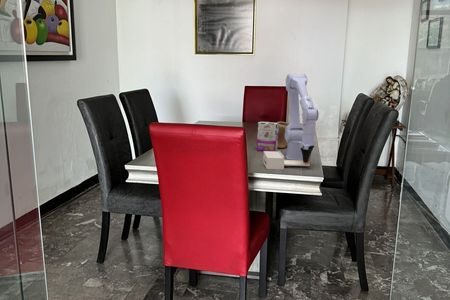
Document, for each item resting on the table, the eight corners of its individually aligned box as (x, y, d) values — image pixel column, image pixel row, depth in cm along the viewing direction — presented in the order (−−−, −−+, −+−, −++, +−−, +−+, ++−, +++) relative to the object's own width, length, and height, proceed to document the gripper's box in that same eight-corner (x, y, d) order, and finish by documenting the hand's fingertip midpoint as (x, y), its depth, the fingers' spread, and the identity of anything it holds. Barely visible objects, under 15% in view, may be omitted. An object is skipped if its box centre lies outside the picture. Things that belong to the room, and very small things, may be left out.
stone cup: (288, 150, 231) (290, 124, 228) (268, 148, 235) (269, 122, 231) (291, 145, 245) (293, 121, 242) (272, 143, 249) (274, 119, 245)
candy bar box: (277, 151, 227) (279, 122, 224) (275, 153, 223) (277, 123, 219) (258, 149, 231) (260, 121, 227) (256, 150, 226) (257, 122, 223)
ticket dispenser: (279, 162, 203) (279, 150, 201) (284, 169, 189) (284, 157, 188) (262, 161, 202) (263, 150, 201) (266, 169, 189) (267, 156, 187)
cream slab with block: (305, 161, 200) (306, 151, 199) (309, 166, 192) (310, 155, 191) (278, 161, 199) (278, 151, 198) (281, 165, 192) (281, 154, 190)
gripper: (302, 130, 201) (300, 156, 204) (298, 135, 187) (296, 163, 190) (316, 131, 199) (314, 158, 202) (313, 136, 185) (311, 165, 188)
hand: (306, 161), depth 196 cm, fingers closed on cream slab with block, 5 cm apart
